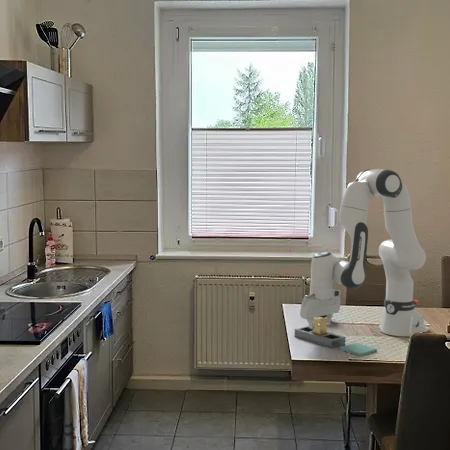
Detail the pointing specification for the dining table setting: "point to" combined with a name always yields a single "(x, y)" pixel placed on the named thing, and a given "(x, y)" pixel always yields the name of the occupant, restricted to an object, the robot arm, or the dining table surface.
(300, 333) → the grey peg holder tray
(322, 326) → the brass peg
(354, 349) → the teal board
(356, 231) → the robot arm
